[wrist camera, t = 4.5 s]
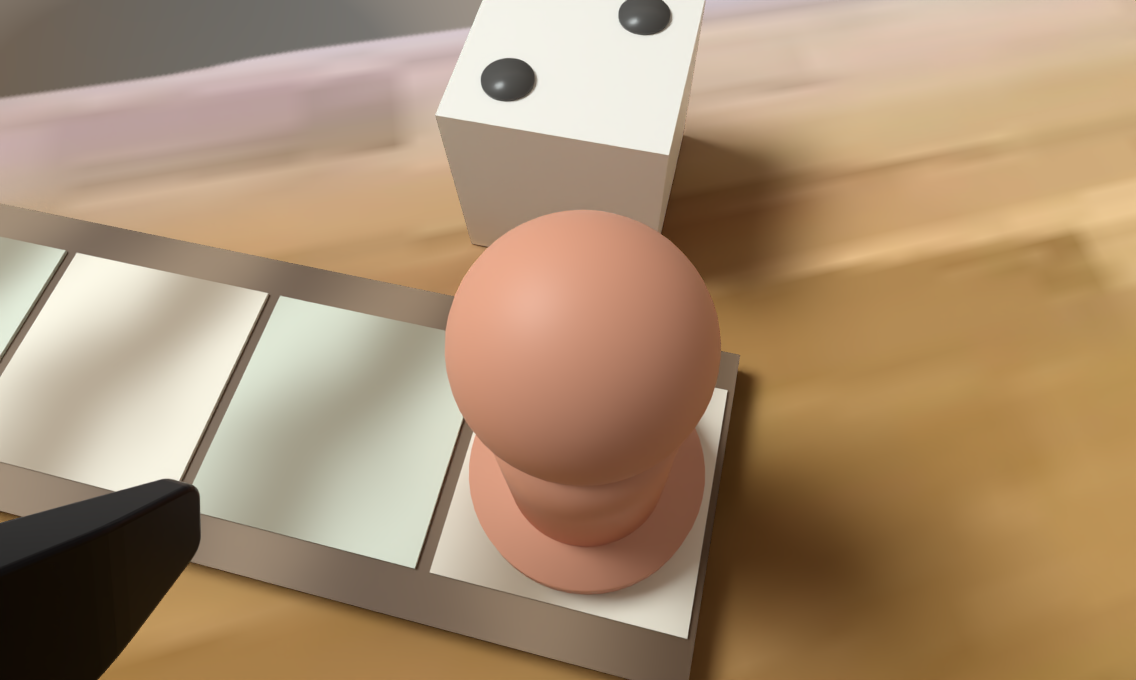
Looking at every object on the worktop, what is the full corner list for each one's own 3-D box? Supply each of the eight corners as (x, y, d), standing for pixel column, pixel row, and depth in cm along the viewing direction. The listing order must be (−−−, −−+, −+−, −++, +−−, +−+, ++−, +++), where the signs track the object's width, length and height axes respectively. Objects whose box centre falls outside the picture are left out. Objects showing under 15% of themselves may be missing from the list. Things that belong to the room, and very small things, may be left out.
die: (683, 133, 25) (708, -17, 20) (650, 278, 23) (669, 152, 17) (519, 106, 26) (499, -46, 21) (471, 243, 24) (434, 112, 18)
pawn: (743, 457, 19) (890, 245, 10) (607, 647, 17) (624, 615, 8) (569, 333, 21) (549, 49, 11) (428, 494, 19) (263, 315, 10)
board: (733, 368, 21) (740, 353, 20) (681, 693, 18) (687, 694, 17) (-67, 202, 25) (-95, 182, 24) (-246, 444, 21) (-287, 433, 20)
